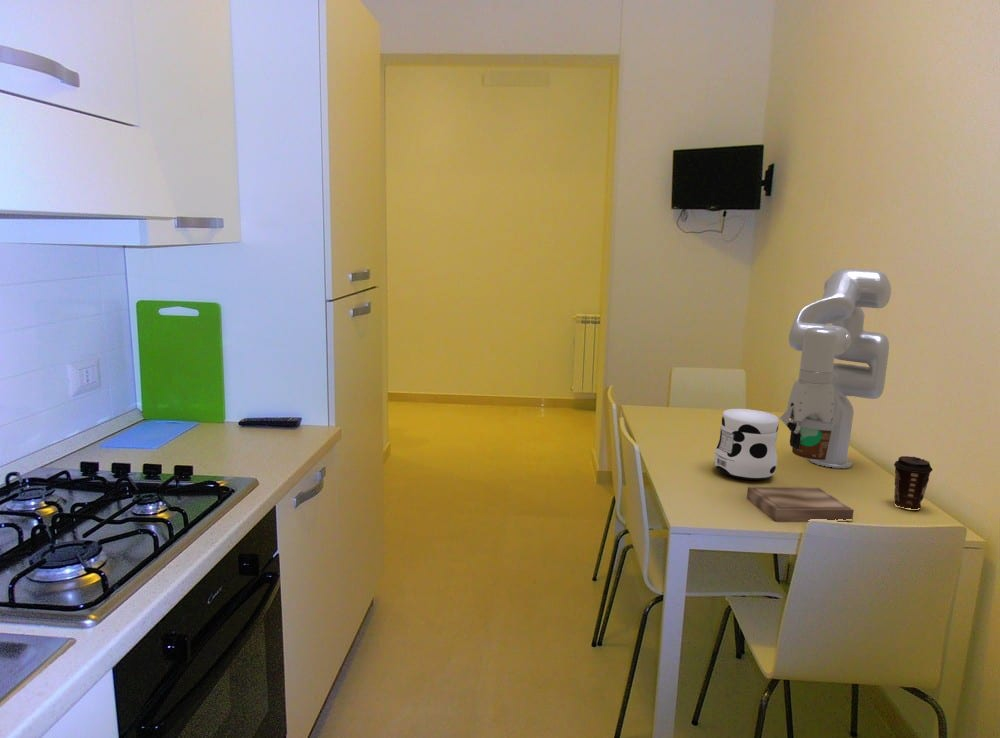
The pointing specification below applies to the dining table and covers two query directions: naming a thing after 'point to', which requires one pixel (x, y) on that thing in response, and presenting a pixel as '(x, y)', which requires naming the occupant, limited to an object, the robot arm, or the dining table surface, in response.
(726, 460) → the milk container
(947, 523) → the dining table surface
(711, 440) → the dining table surface
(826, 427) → the food container
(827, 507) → the board
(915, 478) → the coffee cup
